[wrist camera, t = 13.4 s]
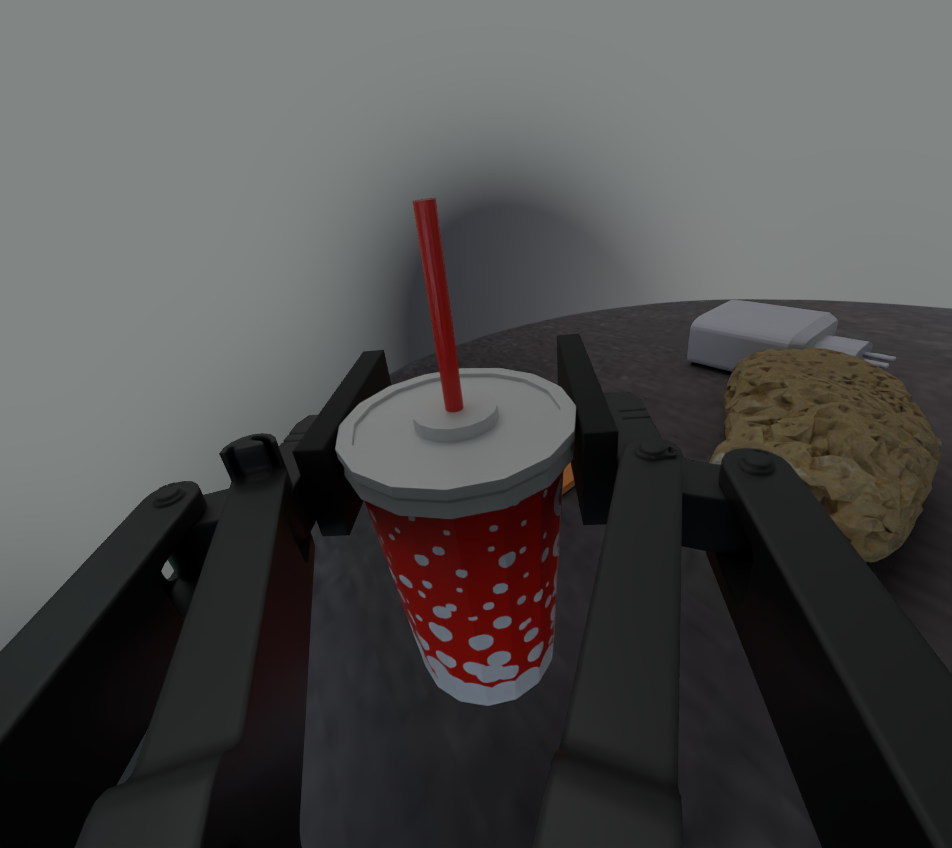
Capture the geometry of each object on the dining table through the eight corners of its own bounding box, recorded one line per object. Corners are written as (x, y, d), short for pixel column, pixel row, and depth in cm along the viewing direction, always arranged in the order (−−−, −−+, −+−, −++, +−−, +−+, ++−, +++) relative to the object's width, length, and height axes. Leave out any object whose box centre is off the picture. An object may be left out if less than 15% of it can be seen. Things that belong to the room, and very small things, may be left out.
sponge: (902, 628, 23) (968, 396, 32) (911, 514, 19) (983, 289, 28) (649, 541, 33) (757, 383, 42) (623, 456, 29) (748, 302, 38)
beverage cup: (547, 766, 13) (515, 211, 6) (365, 690, 15) (192, 232, 8) (594, 594, 18) (606, 173, 11) (449, 556, 20) (383, 194, 13)
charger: (862, 410, 37) (685, 365, 48) (900, 372, 42) (730, 338, 53) (881, 354, 35) (690, 319, 46) (919, 320, 40) (737, 296, 50)
